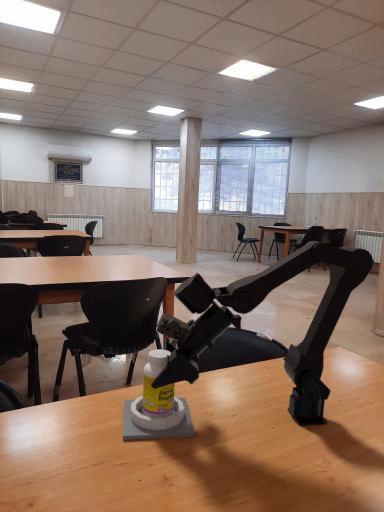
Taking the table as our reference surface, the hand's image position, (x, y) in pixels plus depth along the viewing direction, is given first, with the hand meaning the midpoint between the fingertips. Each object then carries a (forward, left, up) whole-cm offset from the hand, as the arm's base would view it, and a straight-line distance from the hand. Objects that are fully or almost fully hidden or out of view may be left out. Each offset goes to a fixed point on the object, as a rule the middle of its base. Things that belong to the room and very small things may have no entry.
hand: (152, 379), depth 80 cm
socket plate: (-1, 0, -9) cm, 9 cm away
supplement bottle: (-1, 0, -7) cm, 7 cm away
